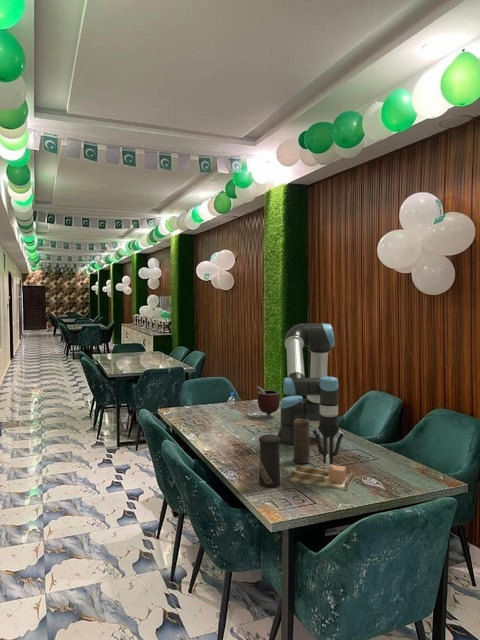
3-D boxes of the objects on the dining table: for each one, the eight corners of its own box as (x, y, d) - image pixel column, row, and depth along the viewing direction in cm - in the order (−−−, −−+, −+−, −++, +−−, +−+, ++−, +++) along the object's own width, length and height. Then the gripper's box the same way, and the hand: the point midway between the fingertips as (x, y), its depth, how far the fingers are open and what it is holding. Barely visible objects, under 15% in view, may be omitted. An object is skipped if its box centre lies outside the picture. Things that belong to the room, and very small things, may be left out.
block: (328, 480, 189) (328, 468, 188) (331, 476, 193) (331, 464, 193) (343, 483, 186) (343, 471, 186) (345, 478, 191) (346, 466, 190)
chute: (289, 480, 192) (289, 473, 192) (298, 470, 203) (298, 464, 203) (347, 490, 182) (347, 482, 182) (353, 479, 193) (353, 472, 193)
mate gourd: (283, 418, 293) (283, 386, 292) (273, 423, 282) (273, 390, 281) (262, 414, 302) (262, 384, 301) (251, 419, 290) (251, 388, 289)
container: (257, 480, 192) (257, 433, 191) (278, 479, 193) (278, 432, 192) (260, 489, 184) (260, 439, 183) (282, 488, 184) (282, 438, 183)
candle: (305, 466, 209) (305, 422, 208) (290, 463, 212) (290, 420, 212) (312, 461, 215) (312, 418, 214) (297, 458, 219) (297, 416, 218)
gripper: (310, 415, 189) (310, 471, 190) (342, 418, 184) (342, 476, 185) (315, 411, 196) (315, 465, 197) (346, 414, 191) (346, 470, 192)
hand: (328, 471), depth 191 cm, fingers closed
